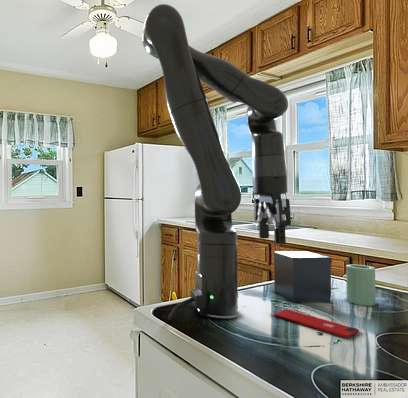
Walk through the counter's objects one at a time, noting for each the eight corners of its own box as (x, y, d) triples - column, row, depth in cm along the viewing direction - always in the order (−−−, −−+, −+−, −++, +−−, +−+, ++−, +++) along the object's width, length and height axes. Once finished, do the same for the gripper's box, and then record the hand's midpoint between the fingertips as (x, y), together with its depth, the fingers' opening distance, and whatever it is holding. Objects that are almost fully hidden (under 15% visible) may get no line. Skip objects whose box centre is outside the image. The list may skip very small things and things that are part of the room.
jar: (358, 305, 83) (357, 269, 83) (341, 298, 89) (341, 264, 89) (381, 305, 83) (381, 269, 83) (363, 298, 89) (362, 264, 89)
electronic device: (273, 315, 76) (347, 338, 63) (273, 313, 76) (347, 335, 63) (286, 310, 79) (359, 331, 66) (286, 308, 79) (359, 329, 66)
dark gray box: (293, 302, 86) (293, 257, 86) (274, 291, 96) (274, 251, 96) (337, 302, 86) (336, 257, 86) (313, 291, 96) (313, 251, 96)
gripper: (242, 177, 86) (245, 237, 86) (266, 173, 72) (269, 246, 72) (271, 175, 86) (273, 236, 86) (300, 172, 71) (303, 244, 72)
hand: (271, 240), depth 79 cm, fingers open, 8 cm apart
